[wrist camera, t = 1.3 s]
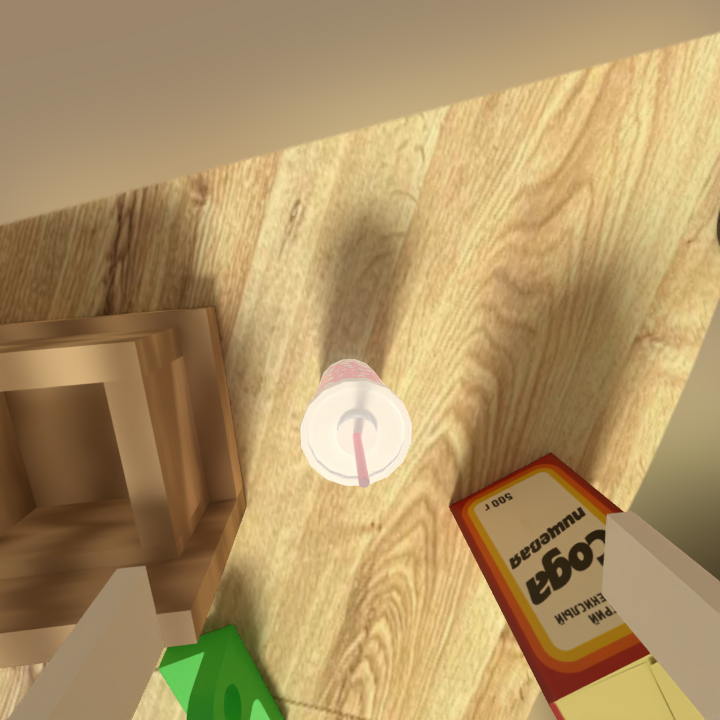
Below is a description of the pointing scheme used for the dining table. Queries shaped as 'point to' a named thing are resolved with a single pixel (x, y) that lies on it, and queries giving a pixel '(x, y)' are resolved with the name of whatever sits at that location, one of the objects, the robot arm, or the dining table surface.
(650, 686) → the baking soda box
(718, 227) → the supplement bottle
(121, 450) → the wooden caddy with backboard
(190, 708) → the mechanical part
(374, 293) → the dining table surface
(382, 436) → the beverage cup
